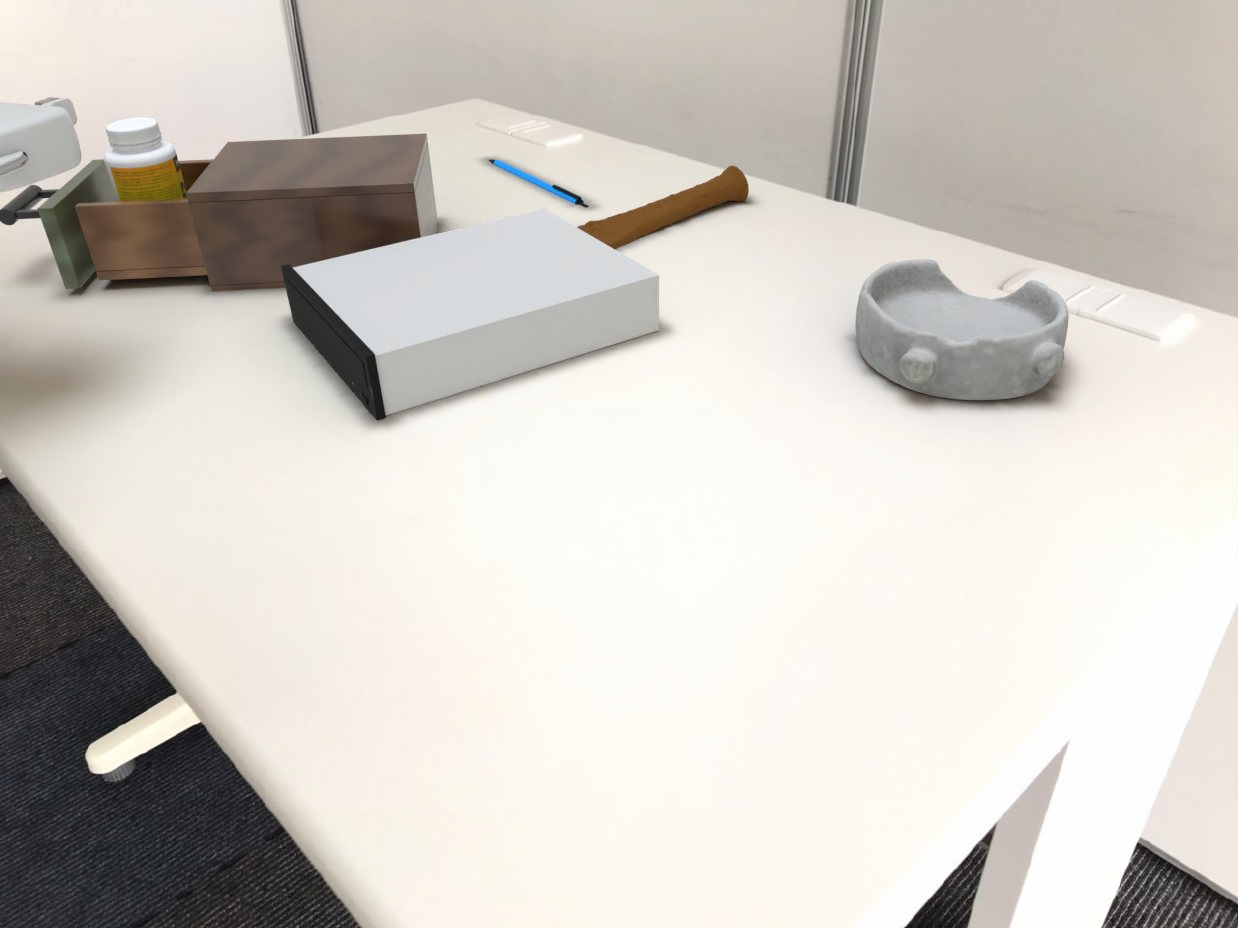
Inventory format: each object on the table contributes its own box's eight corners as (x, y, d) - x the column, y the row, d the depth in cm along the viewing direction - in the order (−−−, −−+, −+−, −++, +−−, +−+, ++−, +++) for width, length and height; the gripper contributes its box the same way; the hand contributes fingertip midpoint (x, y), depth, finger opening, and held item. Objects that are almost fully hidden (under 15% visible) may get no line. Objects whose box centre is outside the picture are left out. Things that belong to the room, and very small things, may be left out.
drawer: (3, 292, 82) (-28, 211, 78) (60, 235, 92) (35, 162, 89) (270, 279, 83) (251, 199, 80) (297, 224, 94) (282, 151, 90)
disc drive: (292, 326, 78) (278, 265, 75) (546, 259, 88) (542, 204, 85) (375, 425, 66) (363, 357, 63) (660, 335, 76) (661, 273, 73)
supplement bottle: (208, 244, 87) (177, 124, 81) (143, 261, 84) (105, 138, 78) (186, 227, 91) (154, 110, 85) (122, 242, 88) (85, 123, 82)
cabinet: (212, 295, 83) (185, 193, 78) (249, 234, 94) (227, 141, 90) (427, 284, 84) (413, 182, 79) (438, 225, 95) (426, 133, 91)
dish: (855, 310, 78) (862, 249, 76) (1043, 325, 76) (1058, 262, 73) (847, 403, 67) (855, 336, 64) (1069, 425, 64) (1088, 355, 61)
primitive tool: (601, 256, 88) (599, 217, 86) (563, 239, 92) (561, 202, 90) (753, 205, 98) (755, 169, 96) (714, 192, 102) (715, 157, 100)
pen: (583, 213, 98) (583, 201, 97) (485, 165, 111) (484, 154, 110) (591, 210, 98) (590, 199, 98) (492, 163, 111) (491, 153, 110)
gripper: (-43, 124, 55) (123, 66, 66) (-323, 102, 60) (-125, 51, 71) (-1, 234, 59) (149, 161, 70) (-269, 205, 64) (-89, 141, 75)
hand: (9, 105), depth 70 cm, fingers open, 8 cm apart
